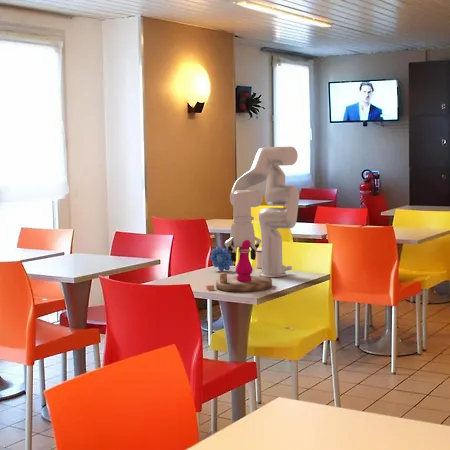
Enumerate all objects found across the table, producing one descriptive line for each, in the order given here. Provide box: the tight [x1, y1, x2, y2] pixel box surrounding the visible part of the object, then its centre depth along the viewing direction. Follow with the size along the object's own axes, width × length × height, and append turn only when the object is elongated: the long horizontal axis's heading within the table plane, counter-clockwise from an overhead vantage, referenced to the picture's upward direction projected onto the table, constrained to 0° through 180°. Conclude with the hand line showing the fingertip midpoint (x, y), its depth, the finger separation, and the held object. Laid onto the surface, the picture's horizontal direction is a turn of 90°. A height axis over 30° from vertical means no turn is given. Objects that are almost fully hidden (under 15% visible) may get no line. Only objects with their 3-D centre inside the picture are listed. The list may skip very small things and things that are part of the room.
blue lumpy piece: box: [209, 246, 234, 272], centre depth 387 cm, size 12×7×12 cm, turn 75°
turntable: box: [215, 272, 273, 292], centre depth 341 cm, size 24×24×6 cm
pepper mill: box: [235, 240, 253, 281], centre depth 340 cm, size 7×7×20 cm
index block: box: [205, 284, 215, 291], centre depth 337 cm, size 3×2×2 cm, turn 106°
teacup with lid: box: [255, 246, 262, 270], centre depth 396 cm, size 12×9×12 cm
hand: (243, 260), depth 340 cm, fingers open, 8 cm apart
